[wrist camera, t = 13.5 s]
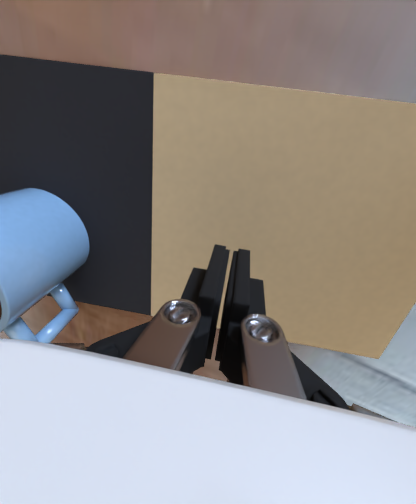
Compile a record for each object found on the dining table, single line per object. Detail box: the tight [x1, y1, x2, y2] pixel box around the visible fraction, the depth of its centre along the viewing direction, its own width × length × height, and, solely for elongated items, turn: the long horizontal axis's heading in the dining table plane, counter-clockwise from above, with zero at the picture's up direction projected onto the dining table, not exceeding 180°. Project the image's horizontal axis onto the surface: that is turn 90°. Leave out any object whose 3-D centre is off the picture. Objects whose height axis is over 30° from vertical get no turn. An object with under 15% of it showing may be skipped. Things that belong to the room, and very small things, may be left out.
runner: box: [0, 55, 416, 359], centre depth 17 cm, size 34×18×1 cm, turn 83°
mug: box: [0, 188, 90, 343], centre depth 17 cm, size 11×7×8 cm
